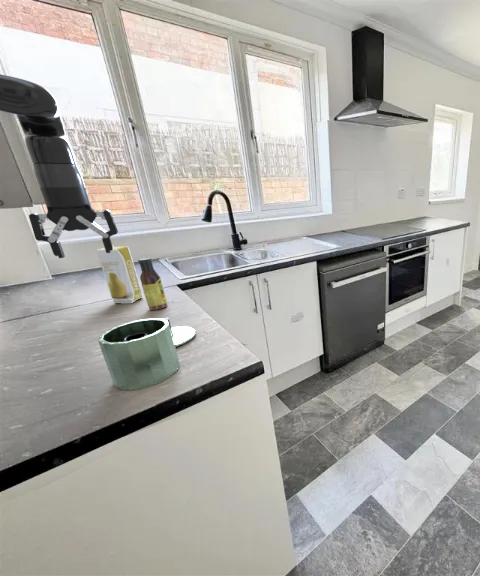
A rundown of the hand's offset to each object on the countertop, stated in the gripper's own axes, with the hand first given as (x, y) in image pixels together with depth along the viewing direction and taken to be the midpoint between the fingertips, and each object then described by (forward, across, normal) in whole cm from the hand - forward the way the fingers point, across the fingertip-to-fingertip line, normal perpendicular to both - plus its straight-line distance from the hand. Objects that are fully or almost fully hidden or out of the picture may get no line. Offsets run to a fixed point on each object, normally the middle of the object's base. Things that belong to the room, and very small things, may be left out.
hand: (86, 255), depth 76 cm
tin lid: (+30, +11, +6) cm, 32 cm away
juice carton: (+30, -1, +58) cm, 65 cm away
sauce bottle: (+30, +9, +41) cm, 52 cm away
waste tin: (+30, +6, -12) cm, 33 cm away
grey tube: (+30, +6, -12) cm, 33 cm away
